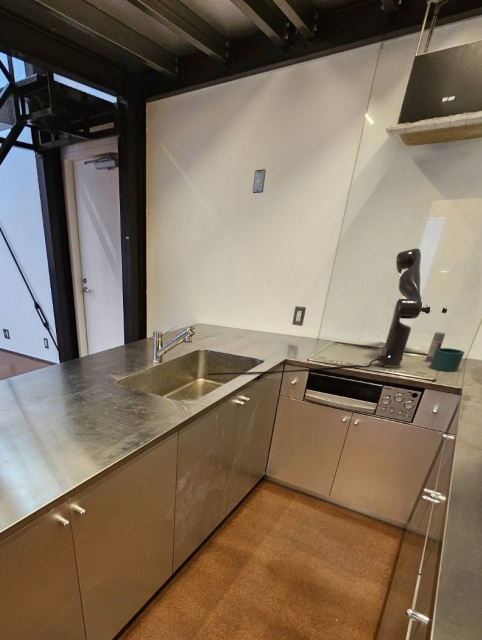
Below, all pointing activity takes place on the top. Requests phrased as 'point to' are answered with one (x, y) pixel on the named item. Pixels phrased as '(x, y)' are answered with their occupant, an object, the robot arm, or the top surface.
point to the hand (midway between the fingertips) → (437, 311)
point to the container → (435, 345)
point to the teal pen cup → (446, 359)
